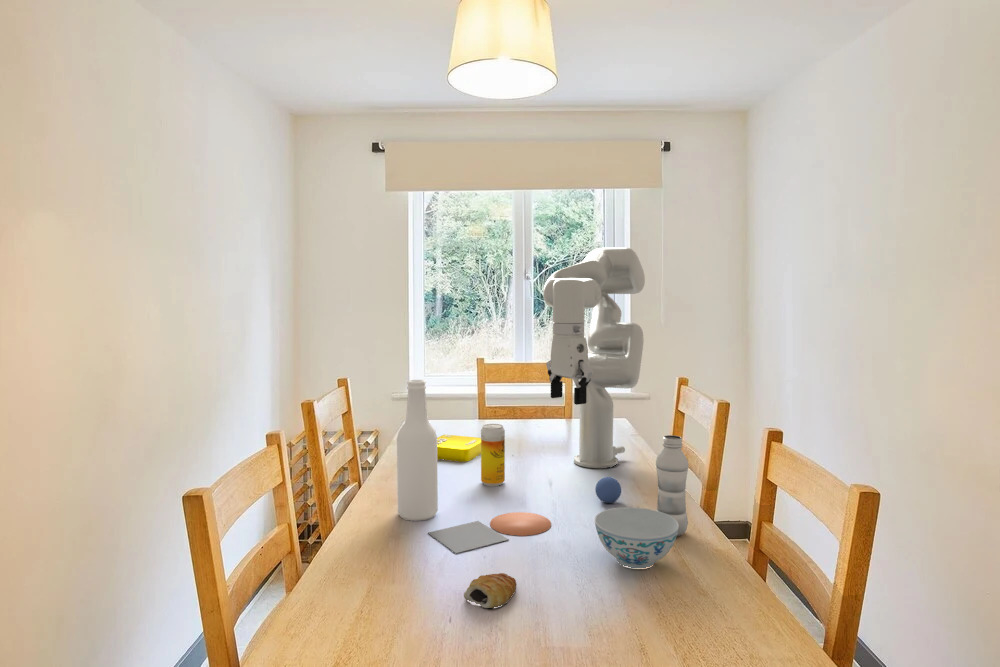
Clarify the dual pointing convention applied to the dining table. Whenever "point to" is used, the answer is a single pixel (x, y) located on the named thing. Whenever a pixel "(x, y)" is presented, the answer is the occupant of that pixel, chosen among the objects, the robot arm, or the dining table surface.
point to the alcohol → (417, 459)
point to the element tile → (458, 448)
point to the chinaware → (636, 535)
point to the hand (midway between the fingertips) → (568, 400)
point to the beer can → (492, 454)
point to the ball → (608, 489)
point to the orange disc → (520, 523)
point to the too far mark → (467, 537)
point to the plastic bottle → (672, 481)
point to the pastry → (491, 590)
